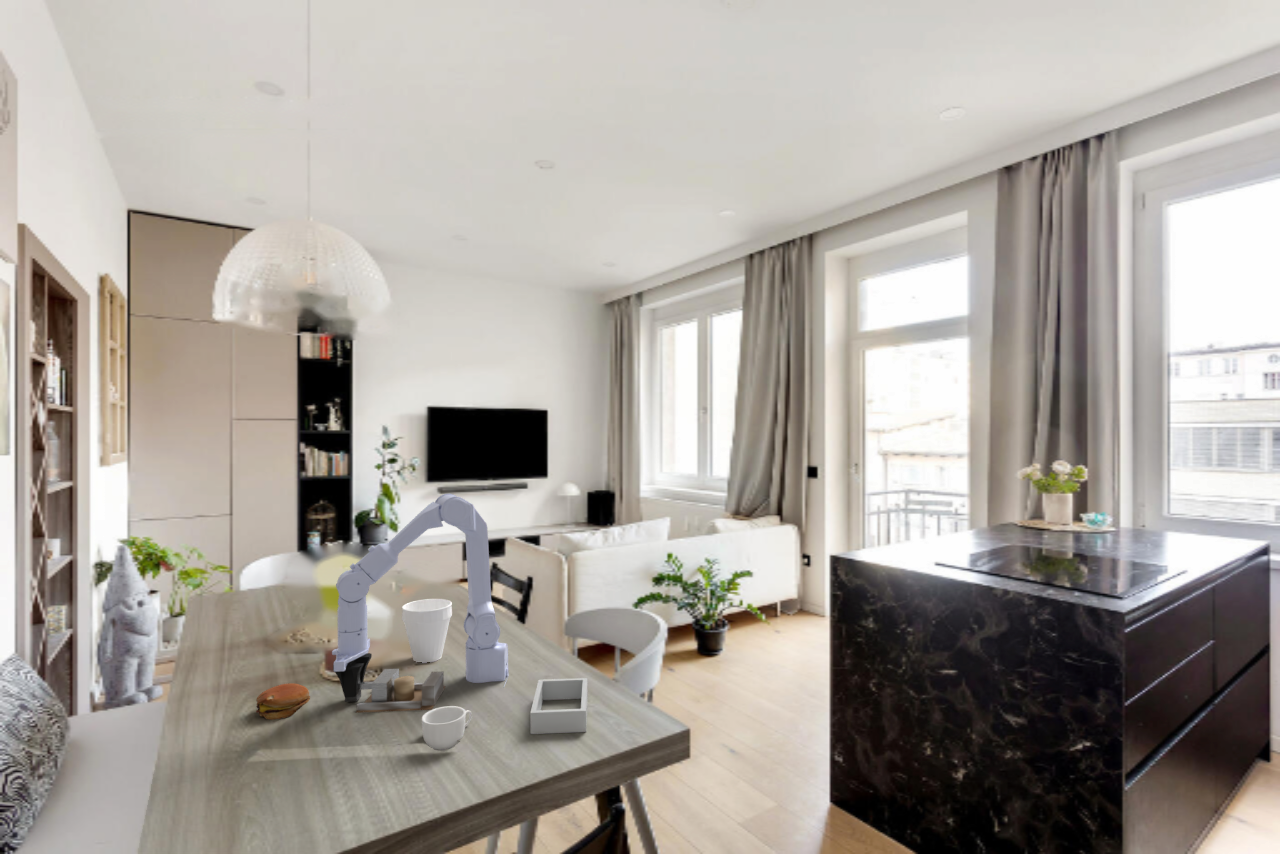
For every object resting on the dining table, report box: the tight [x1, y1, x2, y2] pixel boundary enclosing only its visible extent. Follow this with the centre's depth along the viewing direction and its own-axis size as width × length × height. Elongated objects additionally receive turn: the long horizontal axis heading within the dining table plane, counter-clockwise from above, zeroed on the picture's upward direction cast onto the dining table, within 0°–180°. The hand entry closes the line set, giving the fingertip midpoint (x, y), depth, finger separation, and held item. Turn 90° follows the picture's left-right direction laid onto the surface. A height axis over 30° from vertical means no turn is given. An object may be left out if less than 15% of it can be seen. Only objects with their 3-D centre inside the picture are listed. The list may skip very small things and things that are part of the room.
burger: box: [255, 682, 311, 721], centre depth 134 cm, size 10×9×5 cm
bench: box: [355, 670, 447, 714], centre depth 135 cm, size 15×12×6 cm
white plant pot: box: [401, 598, 453, 664], centre depth 164 cm, size 12×12×14 cm
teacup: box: [421, 705, 473, 751], centre depth 119 cm, size 10×8×5 cm
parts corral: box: [529, 677, 589, 735], centre depth 130 cm, size 10×16×4 cm, turn 4°
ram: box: [344, 668, 400, 703], centre depth 134 cm, size 9×8×5 cm
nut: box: [394, 675, 415, 702], centre depth 135 cm, size 4×4×4 cm
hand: (353, 693), depth 134 cm, fingers closed on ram, 2 cm apart
